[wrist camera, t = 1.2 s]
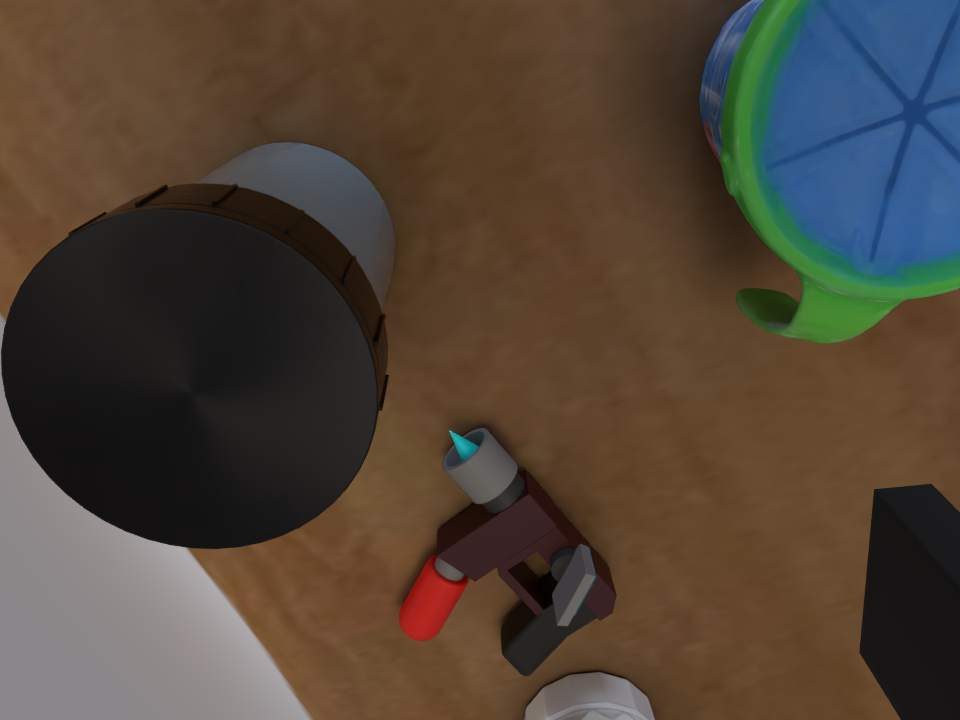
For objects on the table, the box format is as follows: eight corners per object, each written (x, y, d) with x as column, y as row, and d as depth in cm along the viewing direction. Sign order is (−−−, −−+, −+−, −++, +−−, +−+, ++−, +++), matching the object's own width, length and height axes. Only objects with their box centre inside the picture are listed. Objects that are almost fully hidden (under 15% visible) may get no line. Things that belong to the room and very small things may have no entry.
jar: (154, 192, 34) (-30, 303, 21) (340, 107, 32) (264, 170, 20) (254, 367, 36) (145, 557, 24) (428, 294, 35) (411, 453, 23)
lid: (-12, 264, 23) (-80, 301, 20) (292, 125, 22) (267, 143, 19) (166, 531, 26) (130, 595, 23) (440, 422, 25) (437, 476, 22)
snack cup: (751, -197, 29) (891, -295, 20) (1024, -90, 30) (1278, -134, 21) (590, 239, 35) (640, 325, 25) (828, 312, 36) (960, 420, 27)
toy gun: (480, 394, 37) (482, 448, 33) (636, 576, 41) (658, 647, 36) (310, 516, 39) (291, 582, 35) (473, 678, 43) (475, 757, 38)
